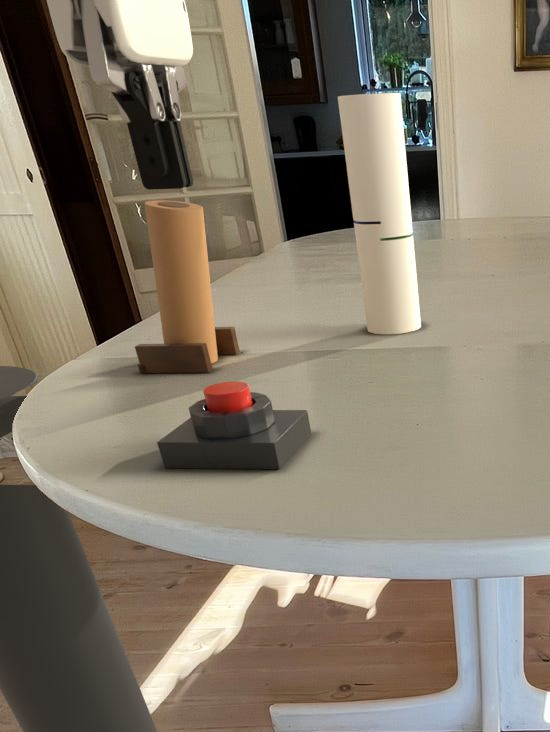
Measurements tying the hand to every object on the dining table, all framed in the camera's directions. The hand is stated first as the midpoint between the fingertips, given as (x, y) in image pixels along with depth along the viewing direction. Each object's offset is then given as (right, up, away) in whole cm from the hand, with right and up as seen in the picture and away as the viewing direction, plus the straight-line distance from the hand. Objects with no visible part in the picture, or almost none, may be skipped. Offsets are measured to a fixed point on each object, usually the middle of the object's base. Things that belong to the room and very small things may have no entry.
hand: (169, 187), depth 54 cm
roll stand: (-11, 0, +34) cm, 36 cm away
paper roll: (-11, 0, +34) cm, 35 cm away
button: (+2, -14, +7) cm, 16 cm away
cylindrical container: (+12, +8, +44) cm, 46 cm away
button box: (+2, -17, +9) cm, 19 cm away
